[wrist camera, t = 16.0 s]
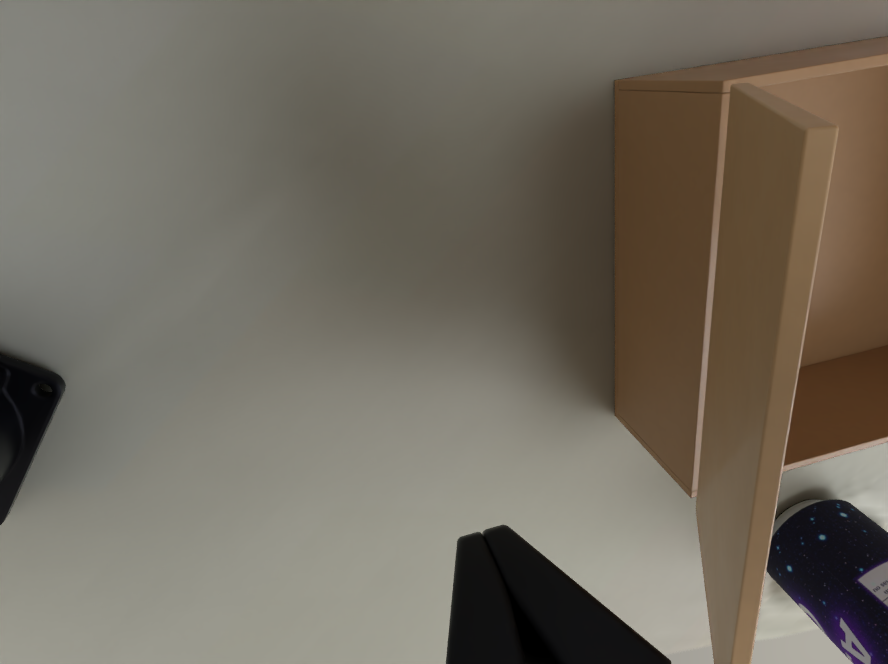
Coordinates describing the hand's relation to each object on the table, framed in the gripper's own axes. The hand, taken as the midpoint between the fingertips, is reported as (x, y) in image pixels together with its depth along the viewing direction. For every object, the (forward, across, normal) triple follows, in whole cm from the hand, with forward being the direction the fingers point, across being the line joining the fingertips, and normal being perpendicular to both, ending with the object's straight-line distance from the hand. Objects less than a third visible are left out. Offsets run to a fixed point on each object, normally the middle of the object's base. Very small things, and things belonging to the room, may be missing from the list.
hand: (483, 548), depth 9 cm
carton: (+12, -16, +1) cm, 20 cm away
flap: (+3, -7, +1) cm, 8 cm away
